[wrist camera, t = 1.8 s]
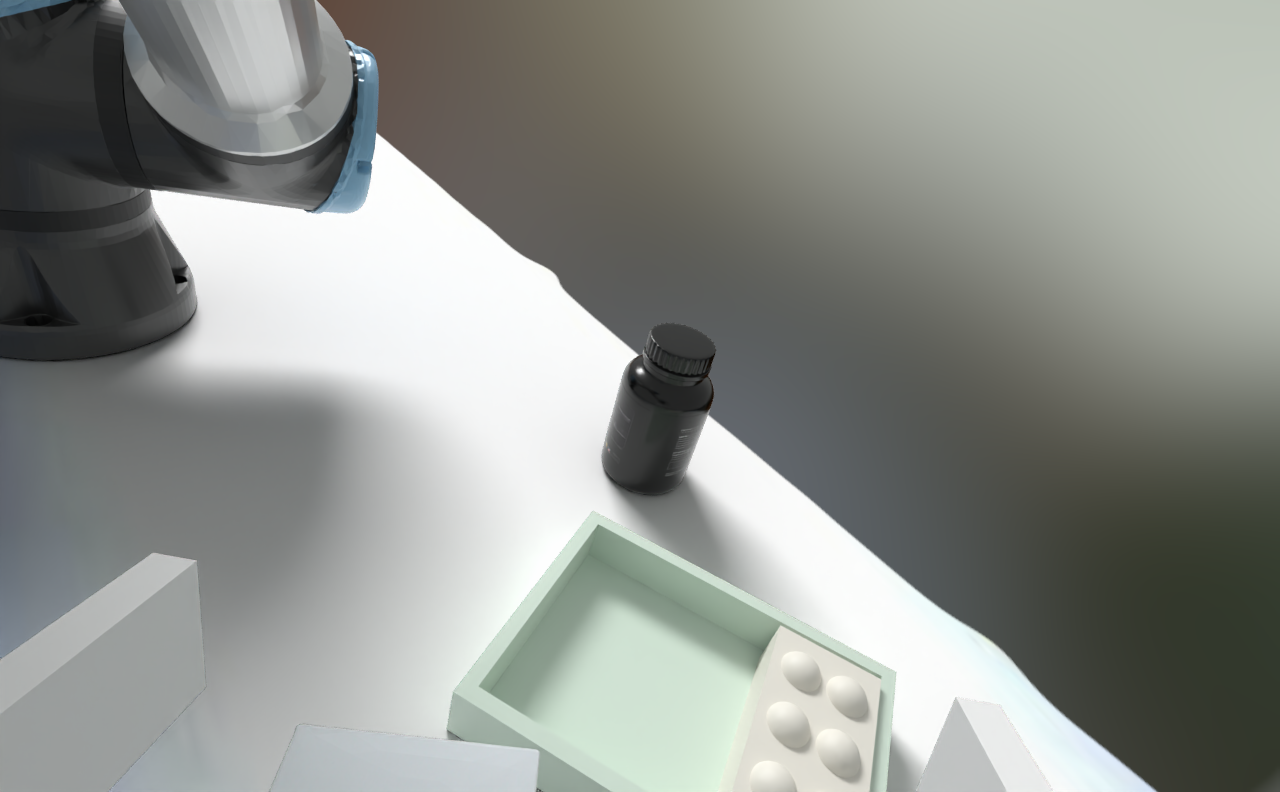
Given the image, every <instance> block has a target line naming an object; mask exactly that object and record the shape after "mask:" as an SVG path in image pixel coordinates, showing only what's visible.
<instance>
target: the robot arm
mask: <svg viewBox="0 0 1280 792" xmlns="http://www.w3.org/2000/svg"><path fill="white" fill-rule="evenodd" d="M377 112H378V69H377V64H376V61H375V58H374V56H373V54H372V53H371V52H369V51H368V50H366V49H364V48H361V47H358V46H356V45H355V44H354V43H352V42H351V41H348V40H344V37H343V35H342V33H341V31H340V30H339V28H338V27H337V25H336V23H335V22H334V20H333V19H332V18H331V17H330V15H329V14H328V13H327V11H326V10H325V9H324V8H323V7H322V6H321V5H320V4H319V3H318V2H317V1H316V0H0V356H2V357H9V358H19V359H34V360H61V359H77V358H87V357H95V356H101V355H107V354H112V353H117V352H122V351H126V350H129V349H133V348H137V347H140V346H143V345H146V344H149V343H151V342H154V341H156V340H159V339H161V338H163V337H165V336H167V335H169V334H171V333H172V332H174V331H176V330H177V329H179V328H180V327H181V326H183V325H184V324H185V323H186V322H187V321H188V320H189V319H190V318H191V316H192V315H193V313H194V311H195V309H196V306H197V298H196V292H195V285H194V279H193V276H192V273H191V271H190V268H189V267H188V265H187V263H186V262H185V260H184V258H183V257H182V255H181V253H180V252H179V250H178V248H177V247H176V245H175V243H174V242H173V240H172V238H171V237H170V235H169V233H168V232H167V230H166V228H165V227H164V225H163V223H162V222H161V220H160V218H159V217H158V215H157V213H156V212H155V209H154V207H153V203H152V198H151V193H150V189H151V190H158V191H168V192H175V193H183V194H191V195H198V196H206V197H213V198H221V199H229V200H236V201H244V202H251V203H259V204H267V205H274V206H282V207H289V208H297V209H304V210H305V211H306V212H311V213H316V214H318V213H322V212H333V213H351V212H354V211H356V210H358V209H359V208H360V207H361V206H362V205H363V204H364V202H365V200H366V197H367V194H368V189H369V184H370V178H371V170H372V164H371V161H372V159H373V153H374V149H375V139H376V127H377ZM205 688H206V675H205V661H204V648H203V634H202V620H201V606H200V593H199V579H198V565H197V560H191V559H186V558H180V557H175V556H169V555H164V554H158V553H152V554H150V555H149V556H147V557H146V558H145V559H143V560H142V561H140V562H139V563H137V564H136V565H135V566H133V567H132V568H130V569H129V570H127V571H126V572H124V573H123V574H122V575H120V576H119V577H117V578H116V579H114V580H113V581H112V582H110V583H109V584H107V585H106V586H104V587H103V588H102V589H100V590H99V591H97V592H96V593H94V594H93V595H92V596H90V597H89V598H87V599H86V600H84V601H83V602H82V603H80V604H79V605H77V606H76V607H74V608H73V609H72V610H70V611H69V612H67V613H66V614H64V615H63V616H62V617H60V618H59V619H57V620H56V621H54V622H53V623H52V624H50V625H49V626H47V627H46V628H44V629H43V630H42V631H40V632H39V633H37V634H36V635H34V636H33V637H32V638H30V639H29V640H27V641H26V642H24V643H23V644H22V645H20V646H19V647H17V648H16V649H14V650H13V651H12V652H10V653H9V654H7V655H6V656H4V657H3V658H2V659H0V792H108V791H109V790H110V789H111V788H112V787H113V786H114V785H115V784H116V782H117V781H118V780H119V779H120V778H121V777H122V776H123V775H124V774H125V773H126V772H127V771H128V770H129V769H130V768H131V767H132V765H133V764H134V763H135V762H136V761H137V760H138V759H139V758H140V757H141V756H142V755H143V754H144V753H145V752H146V751H147V750H148V748H149V747H150V746H151V745H152V744H153V743H154V742H155V741H156V740H157V739H158V738H159V737H160V736H161V735H162V734H163V733H164V731H165V730H166V729H167V728H168V727H169V726H170V725H171V724H172V723H173V722H174V721H175V720H176V719H177V718H178V717H179V716H180V714H181V713H182V712H183V711H184V710H185V709H186V708H187V707H188V706H189V705H190V704H191V703H192V702H193V701H194V700H195V699H196V697H197V696H198V695H199V694H200V693H201V692H202V691H203V690H204V689H205ZM916 792H1054V791H1053V790H1052V788H1051V786H1050V785H1049V783H1048V782H1047V780H1046V778H1045V777H1044V775H1043V773H1042V772H1041V770H1040V769H1039V767H1038V765H1037V764H1036V762H1035V761H1034V759H1033V757H1032V756H1031V754H1030V752H1029V751H1028V749H1027V748H1026V746H1025V744H1024V743H1023V741H1022V739H1021V738H1020V736H1019V735H1018V733H1017V731H1016V730H1015V728H1014V727H1013V725H1012V723H1011V722H1010V720H1009V718H1008V717H1007V715H1006V714H1005V712H1004V710H1003V709H1002V707H1001V705H998V704H992V703H987V702H981V701H976V700H970V699H965V698H959V697H956V698H955V700H954V702H953V705H952V707H951V709H950V712H949V714H948V717H947V719H946V721H945V724H944V726H943V728H942V731H941V733H940V735H939V738H938V740H937V742H936V745H935V747H934V750H933V752H932V754H931V757H930V759H929V761H928V764H927V766H926V768H925V771H924V773H923V776H922V778H921V780H920V783H919V785H918V787H917V790H916Z"/></svg>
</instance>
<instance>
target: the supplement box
mask: <svg viewBox="0 0 1280 792" xmlns="http://www.w3.org/2000/svg"><path fill="white" fill-rule="evenodd" d="M539 759H540V752H539V751H538V750H536V749H529V748H519V747H508V746H501V745H492V744H483V743H474V742H465V741H456V740H447V739H437V738H428V737H419V736H410V735H400V734H391V733H382V732H372V731H363V730H353V729H344V728H335V727H325V726H315V725H308V724H299V725H298V726H297V727H296V729H295V732H294V735H293V737H292V739H291V742H290V744H289V746H288V749H287V751H286V753H285V756H284V758H283V760H282V763H281V765H280V768H279V770H278V772H277V775H276V777H275V779H274V781H273V784H272V786H271V788H270V790H269V792H536V788H537V777H538V769H539Z"/></svg>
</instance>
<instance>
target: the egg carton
mask: <svg viewBox="0 0 1280 792" xmlns="http://www.w3.org/2000/svg"><path fill="white" fill-rule="evenodd" d="M880 688H881V679H879V678H878V677H876V676H874V675H872V674H870V673H868V672H866V671H865V670H863V669H861V668H859V667H857V666H855V665H853V664H852V663H850V662H848V661H846V660H844V659H842V658H840V657H838V656H837V655H835V654H833V653H831V652H829V651H827V650H825V649H824V648H822V647H820V646H818V645H816V644H814V643H812V642H811V641H809V640H807V639H805V638H803V637H801V636H799V635H798V634H796V633H794V632H792V631H790V630H788V629H786V628H785V627H783V626H781V625H780V627H779V628H778V630H777V632H776V633H775V635H774V636H773V638H772V639H771V641H770V642H769V644H768V645H767V647H766V649H765V650H764V652H763V653H762V655H761V656H760V658H759V660H758V663H757V667H756V670H755V673H754V676H753V680H752V683H751V686H750V689H749V692H748V696H747V699H746V702H745V705H744V708H743V712H742V715H741V718H740V721H739V724H738V728H737V731H736V734H735V737H734V741H733V744H732V747H731V750H730V753H729V757H728V760H727V763H726V766H725V769H724V773H723V776H722V779H721V782H720V785H719V789H718V792H869V791H870V782H871V773H872V763H873V754H874V745H875V735H876V726H877V716H878V707H879V698H880Z"/></svg>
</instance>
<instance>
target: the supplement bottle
mask: <svg viewBox="0 0 1280 792" xmlns="http://www.w3.org/2000/svg"><path fill="white" fill-rule="evenodd" d="M715 352H716V349H715V345H714V343H713V342H712V341H711V339H710V338H708V337H707V336H706V335H705V334H703V333H702V332H700V331H698V330H696V329H693V328H691V327H688V326H686V325H681V324H674V323H665V324H660V325H657V326H654V327H653V328H652V329H651V331H650V333H649V336H648V340H647V343H646V345H645V347H644V350H643V354H642V355H639V356H637V357H636V358H634V359H633V360H632V361H631V362H630V363H629V364H628V365H627V366H626V368H625V370H624V373H623V376H622V379H621V383H620V387H619V390H618V394H617V398H616V401H615V405H614V409H613V412H612V416H611V420H610V423H609V427H608V431H607V434H606V438H605V442H604V446H603V450H602V463H603V466H604V468H605V470H606V472H607V473H608V475H609V476H610V477H611V478H612V479H613V480H614V481H615V482H616V483H618V484H619V485H621V486H622V487H624V488H626V489H628V490H630V491H633V492H636V493H640V494H646V495H657V494H663V493H666V492H669V491H671V490H673V489H674V488H676V487H677V486H678V485H679V484H680V483H681V481H682V479H683V477H684V475H685V473H686V470H687V468H688V465H689V463H690V460H691V458H692V455H693V452H694V450H695V447H696V444H697V442H698V439H699V437H700V434H701V431H702V429H703V426H704V424H705V421H706V418H707V416H708V413H709V410H710V408H711V405H712V402H713V398H714V388H713V384H712V382H711V379H710V378H709V376H708V375H709V373H710V370H711V364H712V362H713V359H714V356H715Z"/></svg>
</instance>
